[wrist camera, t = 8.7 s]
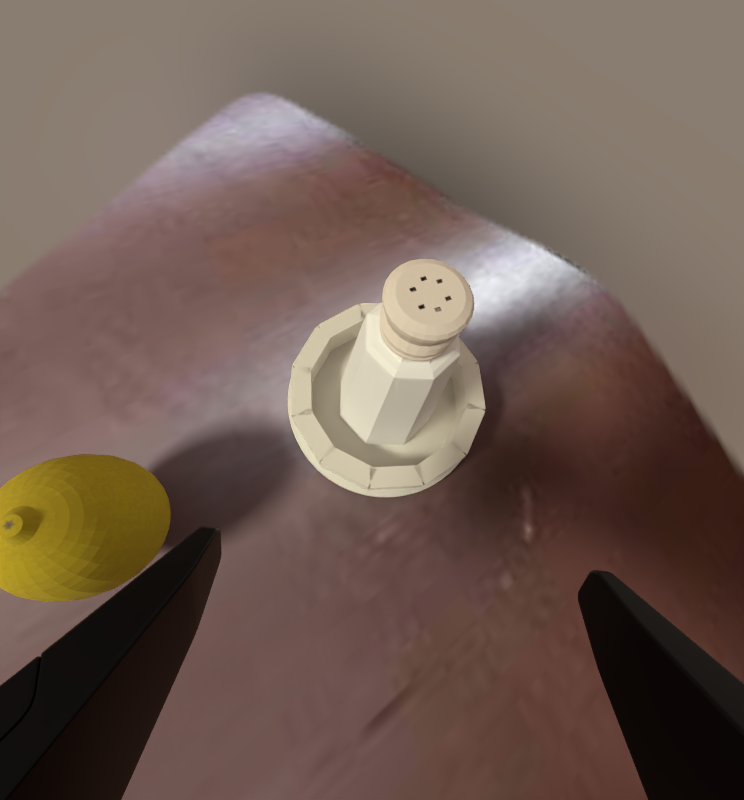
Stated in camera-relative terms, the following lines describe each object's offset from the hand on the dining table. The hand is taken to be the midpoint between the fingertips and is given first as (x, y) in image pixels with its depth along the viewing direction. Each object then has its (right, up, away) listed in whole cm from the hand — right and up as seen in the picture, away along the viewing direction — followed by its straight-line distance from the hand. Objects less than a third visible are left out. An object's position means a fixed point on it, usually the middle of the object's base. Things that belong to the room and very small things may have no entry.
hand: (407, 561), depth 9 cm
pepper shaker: (0, +4, +13) cm, 13 cm away
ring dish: (0, +4, +13) cm, 14 cm away
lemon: (-13, -2, +10) cm, 16 cm away
